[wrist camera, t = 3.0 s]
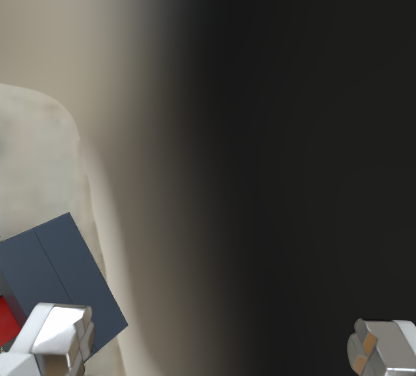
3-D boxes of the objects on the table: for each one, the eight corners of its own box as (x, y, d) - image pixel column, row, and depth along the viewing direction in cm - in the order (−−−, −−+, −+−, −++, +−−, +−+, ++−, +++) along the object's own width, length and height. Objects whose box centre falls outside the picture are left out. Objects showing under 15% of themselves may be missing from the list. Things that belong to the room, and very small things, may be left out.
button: (-8, 347, 29) (3, 349, 27) (-28, 311, 29) (-18, 310, 27) (28, 323, 32) (42, 322, 29) (10, 290, 31) (23, 287, 29)
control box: (15, 370, 34) (61, 382, 26) (-42, 267, 33) (-12, 247, 25) (74, 326, 39) (128, 325, 31) (26, 236, 39) (69, 211, 31)
